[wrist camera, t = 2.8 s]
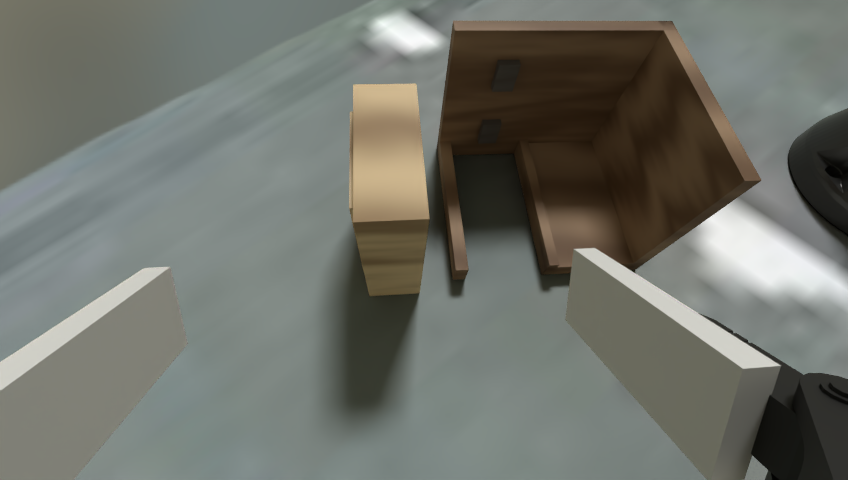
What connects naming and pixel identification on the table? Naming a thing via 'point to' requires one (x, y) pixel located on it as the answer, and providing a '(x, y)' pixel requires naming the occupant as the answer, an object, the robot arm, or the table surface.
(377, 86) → the tan block
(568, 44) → the cabinet
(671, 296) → the robot arm
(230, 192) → the table surface
